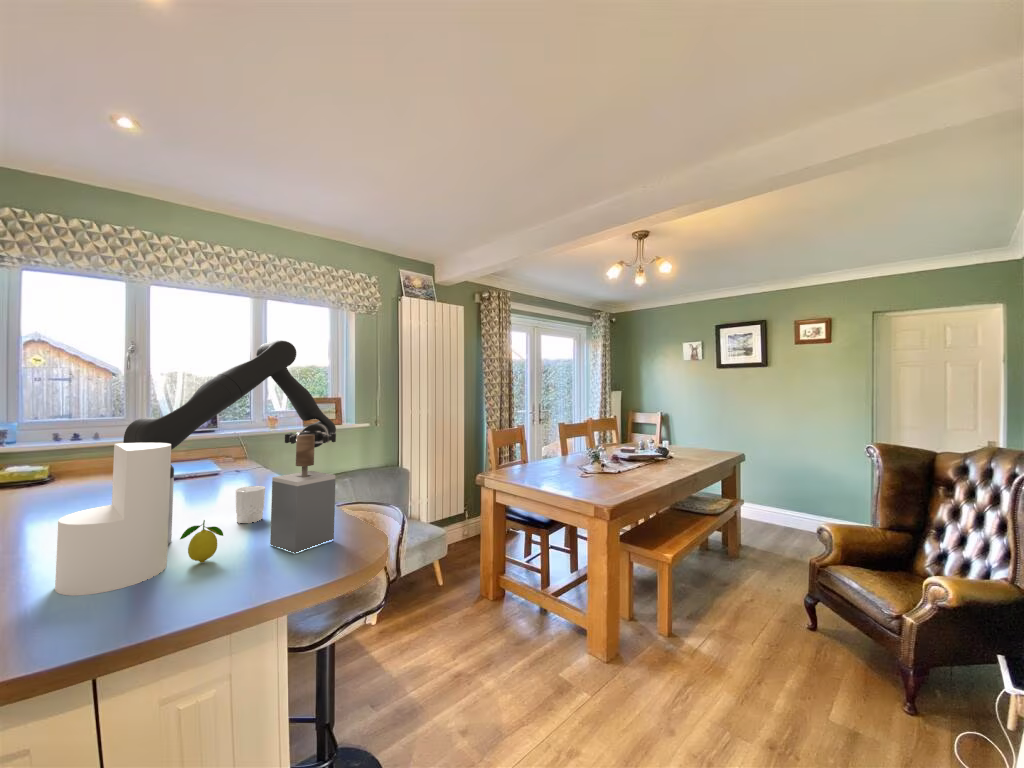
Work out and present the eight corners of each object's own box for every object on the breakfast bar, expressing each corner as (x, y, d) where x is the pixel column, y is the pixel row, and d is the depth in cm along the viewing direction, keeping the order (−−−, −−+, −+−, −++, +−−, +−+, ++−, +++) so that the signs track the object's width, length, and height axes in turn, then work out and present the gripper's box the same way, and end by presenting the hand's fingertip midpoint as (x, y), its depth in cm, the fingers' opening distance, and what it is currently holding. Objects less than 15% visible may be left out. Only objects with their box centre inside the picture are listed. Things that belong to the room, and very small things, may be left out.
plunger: (297, 543, 104) (300, 437, 105) (280, 537, 108) (283, 435, 108) (324, 534, 110) (327, 435, 111) (307, 529, 114) (310, 433, 115)
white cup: (253, 524, 123) (254, 491, 124) (228, 524, 124) (229, 491, 124) (269, 517, 131) (270, 486, 132) (245, 516, 131) (246, 485, 132)
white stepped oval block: (158, 554, 100) (162, 440, 101) (175, 574, 90) (179, 447, 90) (52, 577, 87) (58, 447, 88) (57, 604, 76) (64, 455, 77)
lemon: (178, 569, 92) (180, 525, 92) (191, 559, 98) (192, 517, 98) (212, 566, 94) (214, 523, 94) (223, 556, 99) (224, 515, 100)
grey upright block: (295, 554, 101) (297, 482, 102) (270, 545, 107) (272, 477, 107) (333, 541, 111) (335, 475, 111) (309, 533, 116) (310, 470, 117)
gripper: (291, 423, 133) (282, 427, 118) (338, 423, 138) (335, 427, 123) (290, 446, 133) (280, 453, 118) (337, 445, 138) (334, 452, 123)
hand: (308, 439), depth 120 cm, fingers open, 8 cm apart
